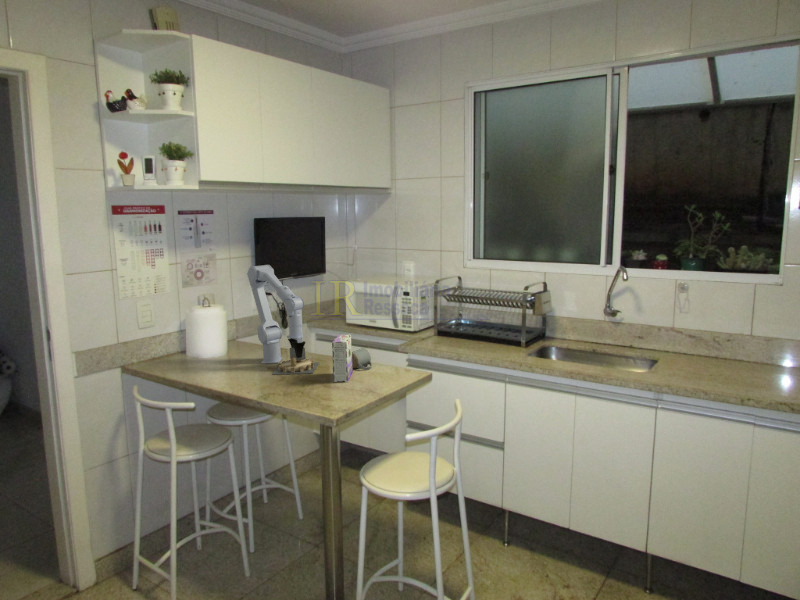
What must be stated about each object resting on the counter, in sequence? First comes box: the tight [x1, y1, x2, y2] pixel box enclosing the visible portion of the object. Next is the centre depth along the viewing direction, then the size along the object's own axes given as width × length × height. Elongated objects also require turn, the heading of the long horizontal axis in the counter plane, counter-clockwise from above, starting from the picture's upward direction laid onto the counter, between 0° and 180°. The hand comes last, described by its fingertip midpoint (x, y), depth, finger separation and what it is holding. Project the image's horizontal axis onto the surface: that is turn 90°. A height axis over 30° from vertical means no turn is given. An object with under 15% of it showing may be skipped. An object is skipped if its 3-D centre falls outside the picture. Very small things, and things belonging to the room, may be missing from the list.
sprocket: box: [277, 358, 315, 373], centre depth 236 cm, size 15×15×6 cm
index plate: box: [271, 362, 320, 376], centre depth 237 cm, size 17×17×1 cm
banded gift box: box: [289, 346, 307, 360], centre depth 239 cm, size 3×6×5 cm, turn 63°
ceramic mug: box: [352, 347, 373, 371], centre depth 235 cm, size 11×8×8 cm
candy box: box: [331, 334, 354, 383], centre depth 221 cm, size 14×6×16 cm, turn 177°
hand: (297, 355), depth 240 cm, fingers closed on banded gift box, 6 cm apart
